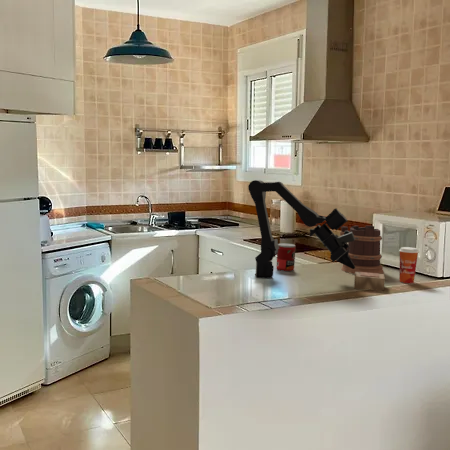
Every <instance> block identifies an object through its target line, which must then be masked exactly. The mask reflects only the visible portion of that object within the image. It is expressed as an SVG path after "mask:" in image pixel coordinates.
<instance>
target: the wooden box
mask: <svg viewBox="0 0 450 450" xmlns="http://www.w3.org/2000/svg"><path fill="white" fill-rule="evenodd" d="M385 279H386V278H385V274H384V273H383V274H378V273H366V272H355V274H354V282H353V283H354V284H353V288H354V289H355V288H357V289H356V290H366V289H371V290H370V291H378V290H379V292H384V291H385V281H386V280H385Z"/></svg>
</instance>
